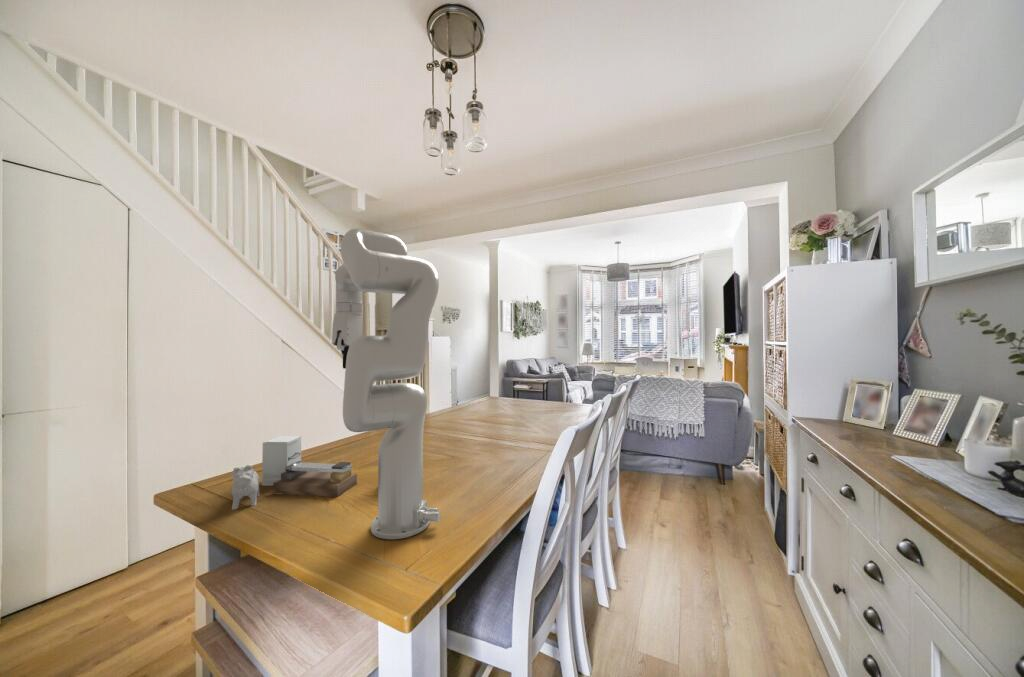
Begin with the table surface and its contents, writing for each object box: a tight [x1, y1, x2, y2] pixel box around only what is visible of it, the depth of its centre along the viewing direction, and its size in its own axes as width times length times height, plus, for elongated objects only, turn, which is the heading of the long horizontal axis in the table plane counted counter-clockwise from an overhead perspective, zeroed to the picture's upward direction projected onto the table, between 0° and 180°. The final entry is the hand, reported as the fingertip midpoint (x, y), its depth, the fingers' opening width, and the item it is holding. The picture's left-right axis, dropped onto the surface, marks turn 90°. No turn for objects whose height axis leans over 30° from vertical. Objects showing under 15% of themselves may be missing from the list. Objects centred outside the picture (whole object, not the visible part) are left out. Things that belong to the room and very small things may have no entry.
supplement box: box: [261, 435, 302, 487], centre depth 107 cm, size 7×7×13 cm
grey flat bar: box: [285, 460, 353, 473], centre depth 101 cm, size 17×5×2 cm, turn 83°
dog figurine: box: [230, 464, 260, 511], centre depth 91 cm, size 5×13×11 cm, turn 31°
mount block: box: [272, 468, 358, 498], centre depth 101 cm, size 19×9×5 cm, turn 83°
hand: (348, 368), depth 112 cm, fingers closed
